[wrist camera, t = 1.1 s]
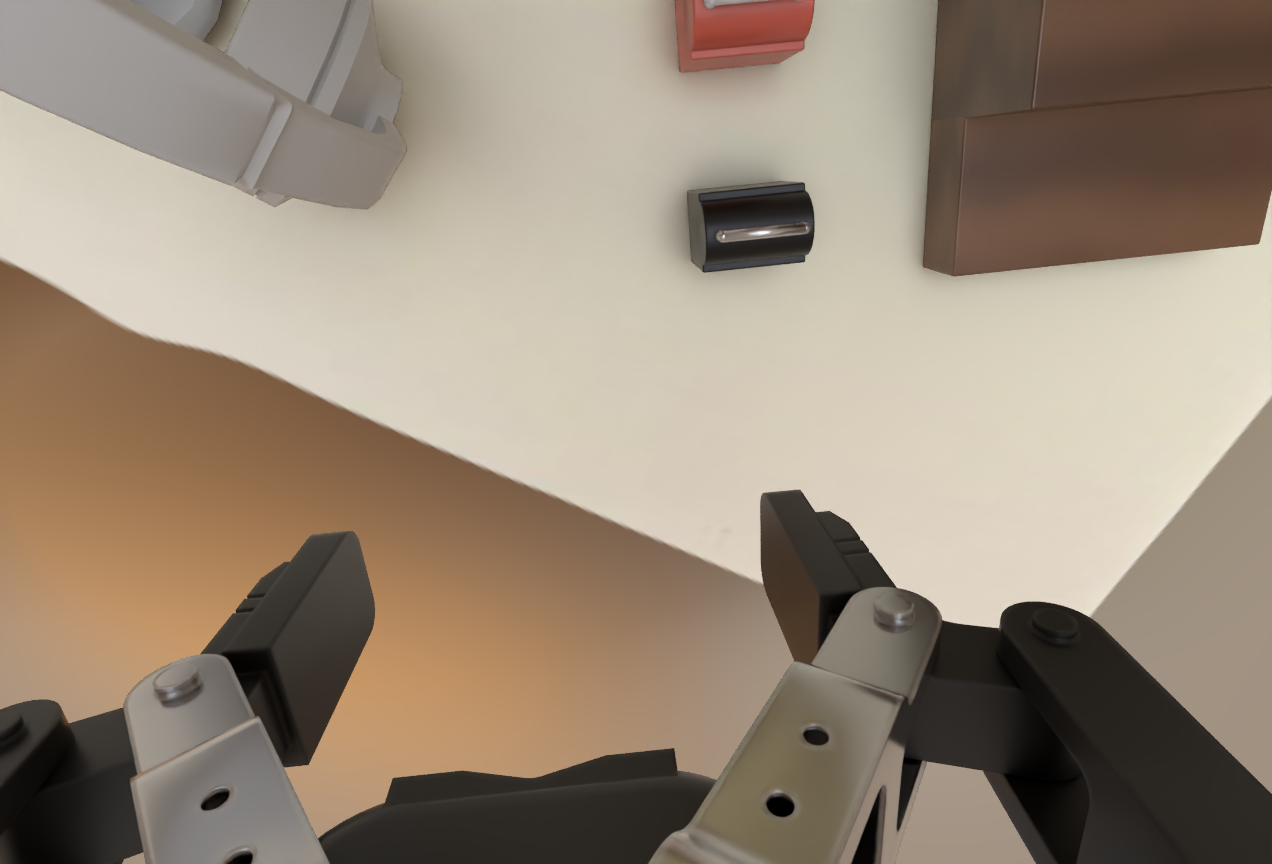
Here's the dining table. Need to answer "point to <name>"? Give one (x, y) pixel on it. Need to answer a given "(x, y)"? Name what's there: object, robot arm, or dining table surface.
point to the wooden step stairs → (1097, 131)
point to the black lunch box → (750, 225)
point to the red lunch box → (740, 32)
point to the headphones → (219, 89)
